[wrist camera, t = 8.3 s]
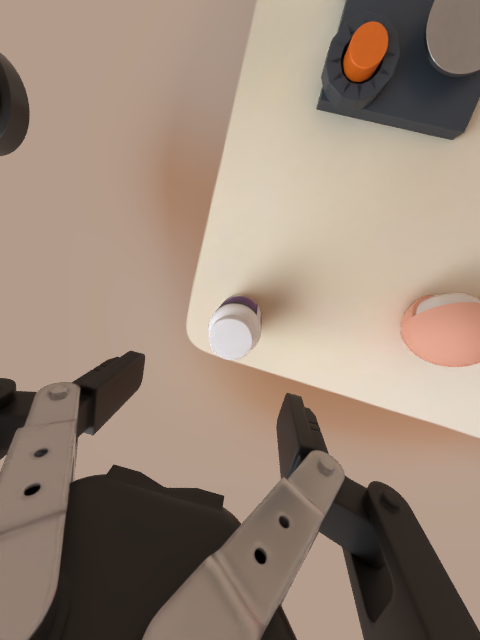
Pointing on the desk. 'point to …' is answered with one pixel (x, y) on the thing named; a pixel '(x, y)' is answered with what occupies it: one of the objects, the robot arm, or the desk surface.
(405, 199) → the desk surface
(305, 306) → the desk surface
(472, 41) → the weighing pan
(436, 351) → the toy ball
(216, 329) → the pill bottle
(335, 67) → the scale
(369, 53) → the button
